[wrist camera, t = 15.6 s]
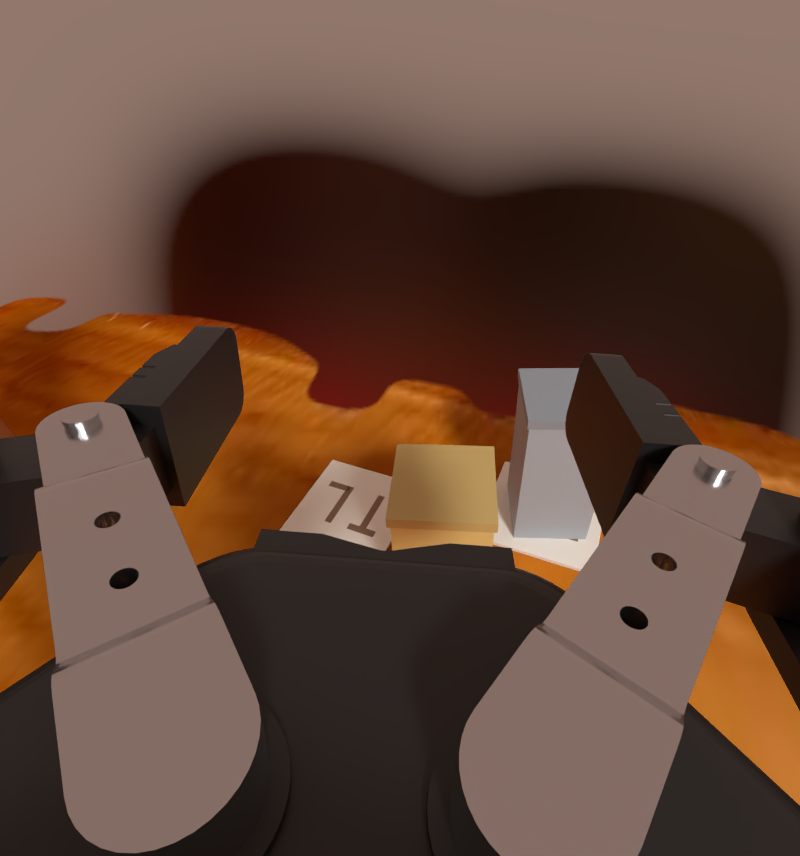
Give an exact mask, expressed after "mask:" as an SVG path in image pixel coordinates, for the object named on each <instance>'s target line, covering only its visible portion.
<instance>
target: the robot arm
mask: <svg viewBox="0 0 800 856" xmlns="http://www.w3.org/2000/svg"><path fill="white" fill-rule="evenodd" d="M142 366H143V367H142V368H139V369H138V370H137V371H136V372H135V373H134V374H133V377H130V378H129V379H128V380H127V381H126V382H124V383H123V384H122V385H121V386H120V387H119V388H118V389H117V390H116V391H115V392H114V393H113V394H112V395H111V396H110V397H109V398H108V399H107V400H106V401H105V402H90V403H82V404H77V405H73V406H70V407H67V408H64V409H61V410H59V411H56V412H54V413H53V414H51V415H49V416H48V417H46V418H45V419H43V420H42V421H41V422H40V423H39V425H38V426H37V428H36V430H35V435H29V436H19V437H15V436H14V435H13V434H12V432H11V431H10V430H9V428H8V427H7V426H6V424H5V423H4V422H3V420H2V419H1V418H0V601H1V600H2V598H3V597H4V596H5V594H6V593H7V592H8V590H9V589H10V588H11V587H12V585H13V584H14V583H15V581H16V580H17V579H18V577H19V576H20V575H21V574H22V572H23V571H24V570H25V568H26V567H27V566H28V564H29V563H30V562H31V561H32V559H33V558H34V557H35V555H36V554H37V552H38V551H42V555H43V563H44V571H45V578H46V586H47V593H48V601H49V608H50V616H51V623H52V631H53V639H54V646H55V654H56V657H54V658H53V659H51V660H50V661H48V662H47V663H45V664H44V665H42V666H41V667H39V668H38V669H36V670H35V671H33V672H32V673H30V674H29V675H27V676H25V677H24V678H22V679H21V680H19V681H18V682H16V683H15V684H13V685H12V686H10V687H9V688H7V689H6V690H4V691H3V692H1V693H0V856H800V806H799V805H798V804H797V803H796V802H795V801H794V800H793V799H792V798H791V797H790V796H789V795H788V794H787V793H785V792H784V791H783V790H782V789H781V788H780V787H779V786H778V785H777V784H776V783H775V782H774V781H772V780H771V779H770V778H769V777H768V776H767V775H766V774H765V773H764V772H763V771H762V770H761V769H760V768H758V767H757V766H756V765H755V764H754V763H753V762H752V761H751V760H750V759H749V758H748V757H747V756H745V755H744V754H743V753H742V752H741V751H740V750H739V749H738V748H737V747H736V746H735V745H734V744H733V743H731V742H730V741H729V740H728V739H727V738H726V737H725V736H724V735H723V734H722V733H721V732H720V731H719V730H717V729H716V728H715V727H714V726H713V725H712V724H711V723H710V722H709V721H708V720H707V719H706V718H704V717H703V716H702V715H701V714H700V713H699V712H698V711H697V710H696V709H695V708H694V707H693V706H692V705H690V704H689V703H688V701H689V698H690V695H691V693H692V690H693V687H694V684H695V682H696V679H697V676H698V673H699V671H700V668H701V665H702V663H703V660H704V657H705V654H706V652H707V649H708V646H709V644H710V641H711V638H712V635H713V633H714V630H715V627H716V625H717V622H718V619H719V616H720V614H721V611H722V608H723V605H724V603H725V601H728V602H731V603H734V604H737V605H741V606H744V607H745V608H746V610H747V612H748V614H749V616H750V618H751V620H752V622H753V624H754V626H755V627H756V629H757V631H758V633H759V635H760V637H761V639H762V641H763V643H764V644H765V646H766V648H767V650H768V652H769V654H770V656H771V658H772V659H773V661H774V663H775V665H776V667H777V669H778V671H779V673H780V674H781V676H782V678H783V680H784V682H785V684H786V686H787V688H788V690H789V691H790V693H791V695H792V697H793V699H794V701H795V703H796V705H797V706H798V708H799V710H800V498H799V497H795V496H791V495H787V494H783V493H779V492H775V491H771V490H768V489H764V488H761V479H760V477H759V475H758V473H757V472H756V471H755V470H754V469H753V468H752V467H751V466H750V465H749V464H747V463H746V462H745V461H743V460H741V459H740V458H738V457H736V456H734V455H732V454H730V453H728V452H726V451H723V450H720V449H717V448H713V447H709V446H704V445H702V444H701V443H700V441H699V440H698V439H697V437H696V436H695V435H694V433H693V432H692V431H691V429H690V428H689V427H688V425H687V424H686V423H685V421H684V420H683V419H682V418H681V417H679V414H678V412H677V411H676V410H675V408H674V407H673V406H671V403H670V402H669V400H668V399H667V398H666V396H665V395H664V394H663V393H662V391H661V390H660V389H658V388H657V387H655V386H654V385H652V384H651V383H649V382H648V381H647V380H645V379H643V378H638V377H637V376H636V375H635V373H634V372H633V371H632V369H631V368H630V366H629V365H628V363H627V362H626V360H625V359H624V358H623V356H621V355H610V354H595V353H587V354H585V355H584V357H583V359H582V361H581V364H580V367H579V371H578V374H577V378H576V381H575V385H574V389H573V392H572V396H571V399H570V403H569V407H568V410H567V414H566V422H565V432H566V438H567V441H568V443H569V446H570V448H571V451H572V454H573V456H574V459H575V461H576V464H577V467H578V469H579V472H580V475H581V477H582V480H583V482H584V485H585V488H586V490H587V493H588V495H589V498H590V501H591V503H592V506H593V509H594V511H595V514H596V516H597V519H598V522H599V524H600V527H601V529H602V532H603V535H604V538H603V540H602V541H601V543H600V544H599V545H598V547H597V548H596V550H595V551H594V552H593V554H592V555H591V557H590V558H589V559H588V561H587V562H586V564H585V565H584V567H583V568H582V569H581V571H580V572H579V574H578V575H577V576H576V578H575V579H574V581H573V582H572V583H571V585H570V586H569V588H568V589H567V590H566V591H564V590H563V589H561V588H559V587H558V586H556V585H554V584H553V583H551V582H549V581H547V580H545V579H543V578H541V577H539V576H537V575H534V574H532V573H529V572H527V571H524V570H521V569H518V568H515V565H514V559H513V553H512V548H505V547H492V546H478V545H465V544H452V543H449V544H441V545H433V546H425V547H417V548H409V549H401V550H393V551H382V550H378V549H374V548H371V547H367V546H364V545H360V544H357V543H353V542H350V541H346V540H343V539H339V538H336V537H332V536H329V535H325V534H319V533H306V532H293V531H279V530H266V529H261V532H260V534H259V537H258V539H257V542H256V544H255V547H254V548H250V549H244V550H240V551H235V552H231V553H228V554H225V555H221V556H218V557H215V558H213V559H211V560H208V561H206V562H203V563H201V564H199V565H197V566H196V564H195V562H194V560H193V558H192V555H191V553H190V551H189V548H188V546H187V544H186V541H185V539H184V537H183V534H182V532H181V530H180V528H179V525H178V523H177V521H176V518H175V516H174V514H173V511H172V509H171V507H170V505H173V506H186V504H187V502H188V501H189V499H190V497H191V496H192V494H193V492H194V491H195V489H196V487H197V486H198V484H199V482H200V480H201V479H202V477H203V475H204V474H205V472H206V470H207V469H208V467H209V465H210V464H211V462H212V460H213V459H214V457H215V455H216V453H217V452H218V450H219V448H220V447H221V445H222V443H223V442H224V440H225V438H226V437H227V435H228V433H229V432H230V430H231V428H232V426H233V425H234V423H235V421H236V420H237V418H238V416H239V415H240V412H241V410H242V405H243V397H244V391H243V383H242V375H241V368H240V361H239V354H238V347H237V340H236V336H235V333H234V331H233V329H232V328H227V327H212V326H196V327H195V328H194V329H193V330H192V331H191V332H190V333H189V334H188V335H187V336H186V337H185V338H184V339H183V340H182V341H181V342H180V343H179V344H178V345H172V346H170V347H168V348H166V349H164V350H162V351H160V352H157V353H155V354H154V355H153V356H152V357H151V358H150V359H149V360H148V361H146V362H145V363H144V364H143V365H142Z"/></svg>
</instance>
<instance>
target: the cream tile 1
mask: <svg viewBox="0 0 800 856" xmlns="http://www.w3.org/2000/svg"><path fill="white" fill-rule="evenodd" d="M391 480H392V477H391V476H387V475H384V474H380V473H377V472H374V471H370V470H367V469H363V468H360V467H356V466H353V465H349V464H346V463H342V462H339V461H335V460H332V461H331V463H330V464H329V465H328V466H327V468H326V469H325V470H324V472H323V473H322V474H321V476H320V477H319V478H318V480H317V481H316V482H315V484H314V485H313V486H312V488H311V489H310V490H309V492H308V493H307V494H306V496H305V497H304V498H303V500H302V501H301V502H300V504H299V505H298V506H297V507H296V509H295V510H294V511H293V513H292V514H291V515H290V517H289V518H288V519H287V521H286V522H285V523H284V525H283V526H282V527H281V529H280V530H279V531H293V532H306V533H319V534H325V535H329V536H332V537H336V538H339V539H343V540H346V541H350V542H353V543H357V544H360V545H364V546H367V547H371V548H374V549H378V550H382V551H387V550H388V548H389V546H390V544H391V534H390V528H386V520H385V519H386V512H387V506H388V499H389V493H390V487H391Z"/></svg>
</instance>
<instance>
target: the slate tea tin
mask: <svg viewBox="0 0 800 856" xmlns="http://www.w3.org/2000/svg"><path fill="white" fill-rule="evenodd" d="M578 371H579V368H543V369H541V368H537V369H536V368H533V369H532V368H531V369H519V371H518V380H519V392H518V400H517V409H516V417H515V425H514V434H513V442H512V451H511V459H510V467H509V476H508V484H507V487H508V495H509V504H510V512H511V521H512V529H513V538H552V539H586V536H587V533H588V530H589V526H590V523H591V520H592V516H593V513H594V509H593V506H592V503H591V501H590V498H589V495H588V493H587V490H586V488H585V485H584V482H583V480H582V477H581V475H580V472H579V469H578V467H577V464H576V461H575V459H574V456H573V454H572V451H571V448H570V446H569V443H568V441H567V438H566V432H565V422H566V414H567V410H568V407H569V403H570V399H571V396H572V392H573V389H574V385H575V381H576V378H577V374H578Z"/></svg>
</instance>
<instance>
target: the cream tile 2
mask: <svg viewBox="0 0 800 856" xmlns="http://www.w3.org/2000/svg"><path fill="white" fill-rule="evenodd" d="M509 467H510V462H507V461H505V463H504V465H503V467H502V470H501V472H500V475H499V477H498V480H497V482H496V488H497V507H498V533H494V540H493V544H494V545H497V546H500V547H505V548H512V550H513V551H516V552H519V553H522V554H526V555H529V556H532V557H535V558H538V559H541V560H545V561H548V562H551V563H554V564H557V565H560V566H564V567H567V568H570V569H573V570H576V571H581V569H582V568H583V567H584V565H585V564H586V562H587V561H588V559H589V558H590V557H591V555H592V554H593V552H594V551H595V550H596V548H597V547H598V545H599V539H600V534H601V527H600V524H599V522H598V519H597V516H596V514H595V511H594V513H593V516H592V520H591V523H590V526H589V530H588V533H587V536H586V539H552V538H513V529H512V521H511V512H510V504H509V495H508V487H507V484H508V476H509Z"/></svg>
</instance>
